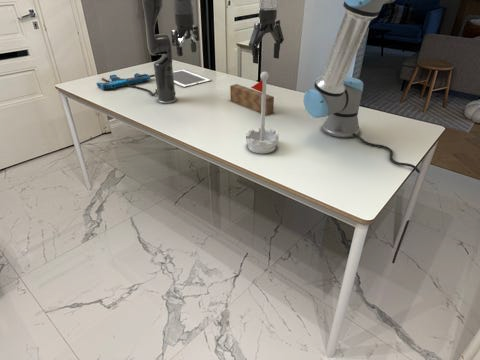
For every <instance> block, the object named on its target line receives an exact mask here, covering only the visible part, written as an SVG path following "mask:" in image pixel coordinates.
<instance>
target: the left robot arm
mask: <svg viewBox="0 0 480 360" xmlns="http://www.w3.org/2000/svg"><path fill="white" fill-rule="evenodd" d="M141 2H142V8H143V16H144V22H145V32H146V33H145V34H146V45H147V49H148V50H147V51H148V52H149V54H150V55H151V56H161V55H162V56H161V57H160V58H159V59H157V60H155V61H154V62H153V71H154V74H155V77H154V78H155V85H156V88H155V89H154V92H152V90H150V89H147V88H144V87H140V86H136V85H132V84H128V85H123V87H129V88H133V89H138V90H143V91H146V92H148V93H149V94H150V95H151V96H152V97H153V96H157V102H159V103H160V104H172V103H175V102H176V101H177V96H176V94H177V92H176V87H175V83H174V77H173V72H174V70H173V69H174V68H173V52H172V51H173V50H172V46H174V47H176V55H177V56H178V57H183V56H184V55H183V54H184V53H183V44H184V42H185V40H186V41H187V40H189V42H190V51H191V53H196V52H197V42H199V41H200V32H199V31H200V30H199V26H198V25H194V24H195V22H194V21H195V20H194V6H193V2H192V0H173V14H174V24H175V26H176V29H171V30H170V32H171V37H170V36H169V34H167V33H158V34H156V31H155V30H156V24H157V20H158V18H159V16H160V13H161V11H162V8H163V4H164V0H141ZM101 80H103V81H105V82H111V81H112V80H108V79H105V78H104V77H102V78H101Z"/></svg>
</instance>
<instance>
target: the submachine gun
mask: <svg viewBox="0 0 480 360" xmlns="http://www.w3.org/2000/svg"><path fill="white" fill-rule="evenodd" d="M151 78H155V73H154V74H147V73H142V74H141V73H139V72H137V73H135V74H133V77H128V78H121V77H119V76H118V75H117V74H110V75H109V79H111V80H110V81H111V82H107V81H105V82H96V83H95V84H96V87H98V88H99V89H101V90H102V91H103V90H109V89H113V90H116V88H118V87H119V88H120V87H122V86H123V85H133V84H138V83H142V82H148V81H149V80H150V79H151ZM123 87H124V86H123Z"/></svg>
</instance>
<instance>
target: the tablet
mask: <svg viewBox="0 0 480 360" xmlns="http://www.w3.org/2000/svg"><path fill="white" fill-rule="evenodd" d="M173 77H174V85H175V84H176V85H178V86H180V87H181V88H182V87H183V88H188V87H191V86H195V85H199V84H204V83H207V82H212V79H210V78H207V77H204V76H201V75H199V74H197V73H193V72H192V71H188V70H186V69H179V70H173Z"/></svg>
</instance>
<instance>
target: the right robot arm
mask: <svg viewBox="0 0 480 360" xmlns="http://www.w3.org/2000/svg"><path fill="white" fill-rule="evenodd" d="M343 1H344V2H343V4H342V7H343V10H344V15H343V17H342V20H341V23H340V26H339V29H338V31H337V34H336V37H335V38H334V42H333V44H332V47H331V50H330V52H329V54H328V55H329V56H328V58H327V60H326V64H325V66H324V69H323V71H322V74H321V76H318V77H317V78H316V80H315V81H314V84H313V87H312V88H309V89H308V90H307V91H305V93H304V95H303V106H304V109H305V111H306V112H307V114H308V115H309V116H311V117H312V118H315V119H321V118H326V120H325V121H324V123H323V126H322V130H323V132H324V133H325V134H326V135H329V136H332V137H335V138H339V139H341V138H342V139H349V138H354V137H355V138H356V139H358V140H360V141H361V142H362V143H364V144H365V145H368V146H371V147H377V148H382V149H385V150H387V151H388V152H389V160H390V162H392V163H393V164H395V165H398V166H403V167H410V168H412V169H413V170H415V172H416V173H419V174H420V173H421V171H420V169H419V168H418V167H417V166H416V165H414V164H413V163H407V162H400V161H396V160H395V159H394V158H393V155H394V152H393V149H391V148H390V147H389V146H386V145H384V144H380V143H379V144H378V143H374V142H373V143H372V142H369V141H366V140H365V139H364V138H362V137H361V136H359V132H360V125H359V118H358V117H359V116H358V114H359V111H360V110H359V109H360V105H361V100H362V95H363V92H364V82H363V81H362V79H359V78H355V77H352V76H348V74H349V72H350V70H351V67H352V65H353V63H354V60H355V58H356V56H357V53H358V51H359V49H360V46H361V45H362V41H363V40H364V37H365V35H366V32H367V29H368V28H369V25H370V23H371V21H372V20H373V19H376V18H377V17H378V16H379V14H380V12H381V10H382V7H383V5H386V4H390V3H394V2H395V1H396V0H343ZM258 7H259V10H258V19H259V22H254V25H253V30H252V33H251V37H250V39H249V42H248V47H249V48H251V53H252V54H251V56H252V64H256V65H257V64H258V65H259V53H260V52H259V49H260V48H259V45H260V43H261V41H262V39H263V37H264V36H265V35H266V34H271V36H272V38H273V40H274V43H273V58H274V59H278V60H279V59H280V50H281V44H283V42H284V41H285V38H284V34H283V30H282V27H281V20H280V19H277V18H278V10H277V9H278V0H259V6H258ZM410 222H411V219H408V220H406V222H405V225H404V227H403V230H402V232H401V236H400V238H399V241H398V243H397V246H396V249H395V251H394V255H393V258H392V261H391V263H392V264H395V262H396V259H397V256H398V253H399V250H400V248H401V245H402V243H403V240H404V237H405V235H406V233H407V229H408V226H409V224H410Z"/></svg>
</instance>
